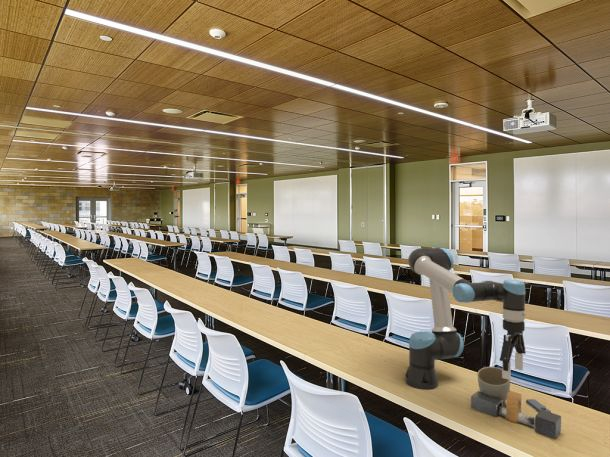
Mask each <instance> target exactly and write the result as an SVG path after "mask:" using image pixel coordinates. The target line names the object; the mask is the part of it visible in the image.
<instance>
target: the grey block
mask: <svg viewBox="0 0 610 457" xmlns="http://www.w3.org/2000/svg"><path fill="white" fill-rule="evenodd" d="M470 398H471V400H470V408H471V409H472V410H475V411H477V412H480V413H483V414H485V415H489V416H491V417H494V418H498V414H497V406H498V405H499V406H502V407H504V402H503V399H501V398H498V397H495V396H490V395H487V394H485V393H483V392H480V390H477V391H475V392H474V393H473V394H471V396H470Z"/></svg>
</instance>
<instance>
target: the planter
mask: <svg viewBox="0 0 610 457" xmlns="http://www.w3.org/2000/svg"><path fill="white" fill-rule="evenodd" d="M477 383H478V388H479V391H480V392H483V393H485V394H487V395H490V396H495V397H498V398H501V399H503V403H504V402H507V393H509V392H510V391H511V388H510V387H511V379H510V380H508V379H505V378H502V368H500V367H497V366H496V367H495V366H485V367H482V368H480V369H479V370H478V372H477Z"/></svg>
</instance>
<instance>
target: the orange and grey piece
mask: <svg viewBox="0 0 610 457" xmlns="http://www.w3.org/2000/svg"><path fill="white" fill-rule="evenodd" d="M497 416H502V417H505V419H506V420H507V421H510V422H513V423H515V424H518V423H521V424H525V425H527V426H530V427H532V428H535V417H534V416H532V415H528V414H525V413H523V412H522V394H521V393H518V392H515V391H512V390H510V392H509V393H507V400H506V407H504V406H503V407H502V406H499V405H498V406H497Z"/></svg>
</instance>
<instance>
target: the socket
mask: <svg viewBox="0 0 610 457" xmlns="http://www.w3.org/2000/svg"><path fill="white" fill-rule="evenodd" d="M534 418H535V427H534V432H535V433H538V434H539V435H542V436H546V437H548V438H551V439H553V440H556V439H557V438H558V437H559V435H560V434H561V432H562V415H559V414H556V413H553V412H551V413H550V412H547V411H544V410H540V411H539V412H537V413H536V415H535V417H534Z"/></svg>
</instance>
